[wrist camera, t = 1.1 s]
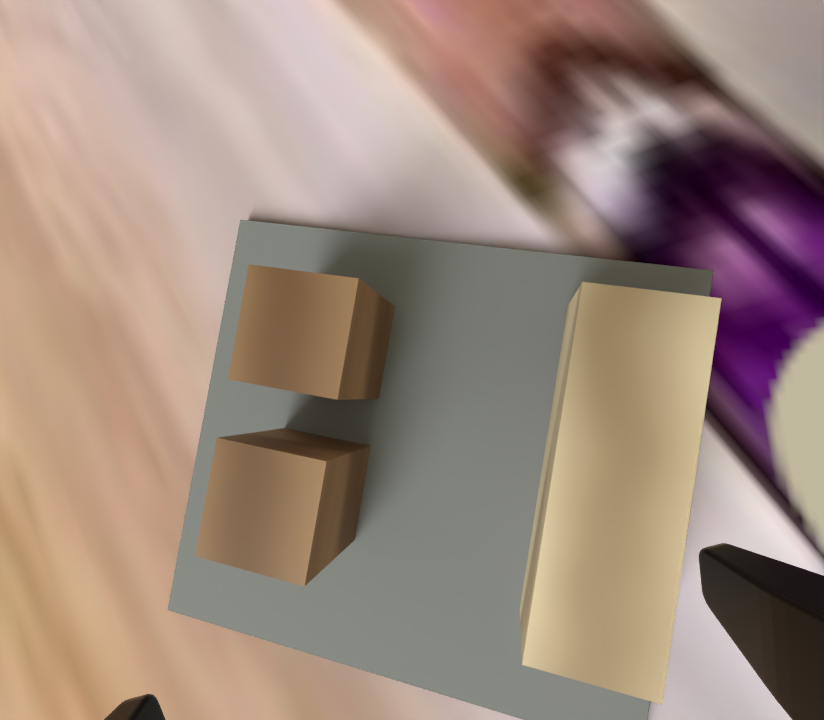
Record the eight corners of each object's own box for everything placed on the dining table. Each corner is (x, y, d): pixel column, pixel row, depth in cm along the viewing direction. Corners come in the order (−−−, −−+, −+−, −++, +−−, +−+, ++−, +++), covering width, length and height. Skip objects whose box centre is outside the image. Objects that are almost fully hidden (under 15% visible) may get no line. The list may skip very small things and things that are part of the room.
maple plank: (676, 318, 18) (721, 298, 14) (629, 637, 18) (662, 704, 14) (568, 304, 19) (582, 281, 15) (519, 608, 19) (522, 665, 15)
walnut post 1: (394, 306, 21) (358, 278, 16) (378, 398, 20) (337, 399, 16) (308, 294, 21) (248, 263, 17) (292, 383, 21) (227, 379, 16)
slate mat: (707, 273, 19) (713, 270, 18) (638, 746, 18) (641, 755, 18) (246, 223, 23) (240, 219, 22) (175, 605, 22) (167, 610, 22)
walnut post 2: (370, 445, 20) (326, 461, 16) (354, 540, 20) (304, 586, 15) (284, 428, 21) (216, 437, 16) (267, 518, 21) (194, 555, 16)
